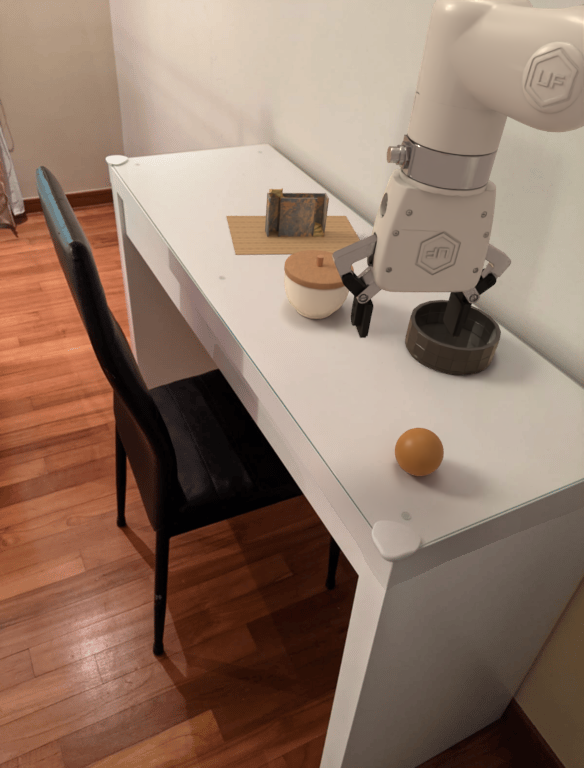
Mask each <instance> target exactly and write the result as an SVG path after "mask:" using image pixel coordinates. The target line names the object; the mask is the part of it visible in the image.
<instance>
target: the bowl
mask: <svg viewBox="0 0 584 768" xmlns="http://www.w3.org/2000/svg"><path fill="white" fill-rule="evenodd" d="M448 300H449V299H448ZM448 300H447V299H436V300H435V299H434V300H428V301H425V302H422V303H419V304H418V305H417V306H415V307H414V308H413V309H412V311H411V314H410V317H409V320H408V325H407V328H406V333H405V339H404V344H405V348H406V350H407V352H408V353H409V354H410V355H411V357H412V358H414V360H415V361H417V362H418V363H419V364H421V365H423V366H425V367H427V368H429V369H430V370H433V371H435V372H439V373H442V374H447V375H454V376H470V375H475V374H478V373H481V372H483V371H485V370H486V369H487V368H488V367H489V366H490V365H491V363H492V361H493V360H494V357H495V354H496V351H497V349H498V346H499V344H500V340H501V335H502V330H501V328H500V326H499V324H498V322H497V321H496V320H495V319H494V318H493V317H492V316H491V315H489V314H488V313H486V312H485V311H484V310H483V309H481V308H478V307H476V306H473V305H471V308H470V311H469V315H468V318H467V321H466V324H465V325H463V326H462V329H461V333H460V336H459V337H453V336H452V335H451V334H450V332H449V330H448V329H447V327H446V325H445V324H444V322H443V318H444V314H445V311H446V307H447V304H448Z"/></svg>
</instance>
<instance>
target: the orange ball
mask: <svg viewBox="0 0 584 768" xmlns="http://www.w3.org/2000/svg"><path fill="white" fill-rule="evenodd" d="M444 450H445V448H444V445H443V442H442V440H441V438H440V437H439V436H438V435H437V434H436V433H435V432H433V431H432V430H430V429H428V428H424V427H414V428H409V429H407V430H406V431H404V432H402V434H401V435H400V436H399V437H398V438H397V440H396V444H395V445H394V456H395V460H396V462H397V464H398V466H399V467H400V468H401V469H402V470H403V471H404V472H405V473H407V474H410V475H411V476H416V477H424V476H428V475H430V474H432V473H434V472H435V471H437V469H438V468H440V466H441V464H442V462H443V459H444V454H445V451H444Z"/></svg>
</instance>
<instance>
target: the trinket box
mask: <svg viewBox="0 0 584 768" xmlns="http://www.w3.org/2000/svg"><path fill="white" fill-rule="evenodd" d="M332 254H333V253H331V252H328V251H321V250H305V251H300V252H297V253H294V254H289V256H288V257H287V258H286V259H285V261H284V266H283V267H284V268H283V270H284V277H283V283H284V285H283V286H284V291H285V295H286V298H287V300H288V302H289V303H290V305H291V306H292V307H293V308H294V309H295V311H296V312H297V313H298V314H299V315H300V316H302V317H304V318H307V319H310V320H311V319H312V320H322V319H326V318H329V317H330V316H332V314H334V313H336V311H338V310H339V309H341V308H342V306H343V305H344V303H345V302H346V300H347V298H348V296H349V293H350V291H349V290H348V289H347V288H346V287H345V286H344V284H343V282H342V280H341V277H340V275H339V273H338V270H337V268H336V266H335V263H334V261H333V258H332ZM351 270H352V271H353V272H354V273H355V267H354V266H353V264H352V265H351Z"/></svg>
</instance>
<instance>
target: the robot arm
mask: <svg viewBox="0 0 584 768" xmlns="http://www.w3.org/2000/svg"><path fill="white" fill-rule="evenodd" d="M415 85H416V86H415V91H414V96H413V101H412V107H411V112H410V117H409V120H408V126H407V133H406V134H404V135H403V140H402V142H401V144H397V145H396V146H395V145H394V146H393V145H389V146H388V148H387V151H386V162H387V163H388V164H395V166H399V168H395V169H393V170H392V173H391V175H390V177H389V179H388V181H387V184H386V187H385V189H384V192H383V195H382V197H381V200H380V203H379V206H378V209H377V213H376V216H375V219H374V223H373V226H372V231H371V235H369V236H367V237H365V238H362V239H360V241H358V242H355V243H353V244H351V245H349V246H346V247H344V248H342V249H339V250H337V251H335V252H334V253H333V254H332V258H333V261H334V263H335V266H336V268H337V270H338V273H339V275H340V277H341V280H342V282H343V284H344V286H345V287H346V288H347V289H348V290H349V293H351V294H352V295H353V299H352V305H351V310H350V324H351V326H352V327H355V328H356V332H357V333H358V336H359V338H360V339H366V338H367V337H368V336H369V332H370V328H371V327H370V326H371V322H372V316H373V312H374V303H373V301H372V299H373V298H374V297H375V296H376V295H377V294H378V293H380V291H385V292H390V293H450V294H449V297H448V304H447V307H446V311H445V314H444V318H443V322H444V324H445V325H446V327H447V329H448V330H449V332H450V334H451V335H452V336H453V337H459V336H460V333H461V329H462V326H463V325H465V324H466V321H467V318H468V315H469V311H470V308H471V306H473V304H476V303H477V302H479V300H480V296H481V295H483V294H484V293H485V292H486V291H488V290H489V289H491V288H492V287H494V286H495V285H496V283H497V282H498V281H497V279H498V278H500V277H501V276H502V275H503V274H504V272H506V271H507V269H508V268H509V267H510V266H511V264H512V259H511V258H510V257H509V256H508V255H507V253H506V252H504V251H502V250H501V249H499V248H497V247H496V246H494V245H493V244H491V243H490V240H491V236H492V235H491V234H492V230H493V222H494V215H495V209H496V208H495V207H496V200H497V199H496V198H497V185H496V184H495V183H494V182H493V181H492V180H490V177H491V174H492V170H493V167H494V163H495V160H496V156H497V154H498V150H499V147H500V144H501V140H502V136H503V133H504V129H505V127H506V122H507V119H508V118H510V119H512V120H514V121H516V122H518V123H520V124H523V125H525V126H528V127H530V128H532V129H535V130H538V131H543V132H547V133H567V132H571V131H576V130H578V129H580V128H583V127H584V3H583V4H579V5H575V6H573V5H572V6H568V7H558V8H557V7H550V8H549V7H547V8H546V7H534V5H533V3H531V1H530V0H435V1H434V3H433V5H432V8H431V12H430V16H429V20H428V25H427V30H426V35H425V41H424V45H423V50H422V55H421V61H420V65H419V71H418V75H417V81H416V84H415ZM364 259H366V265H367V267H366V268H365V269H364V270H363V271H362V272H361V273H359V274H358V275H357V274H356V273H355V271H354V272H353V271H352V270H351V265H352V266H353V265H354V264H355V263H357V262H359V261H362V260H364ZM486 261H487V262H488V263H487V264H486V265H485V262H486ZM484 265H485V267H484Z"/></svg>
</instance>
